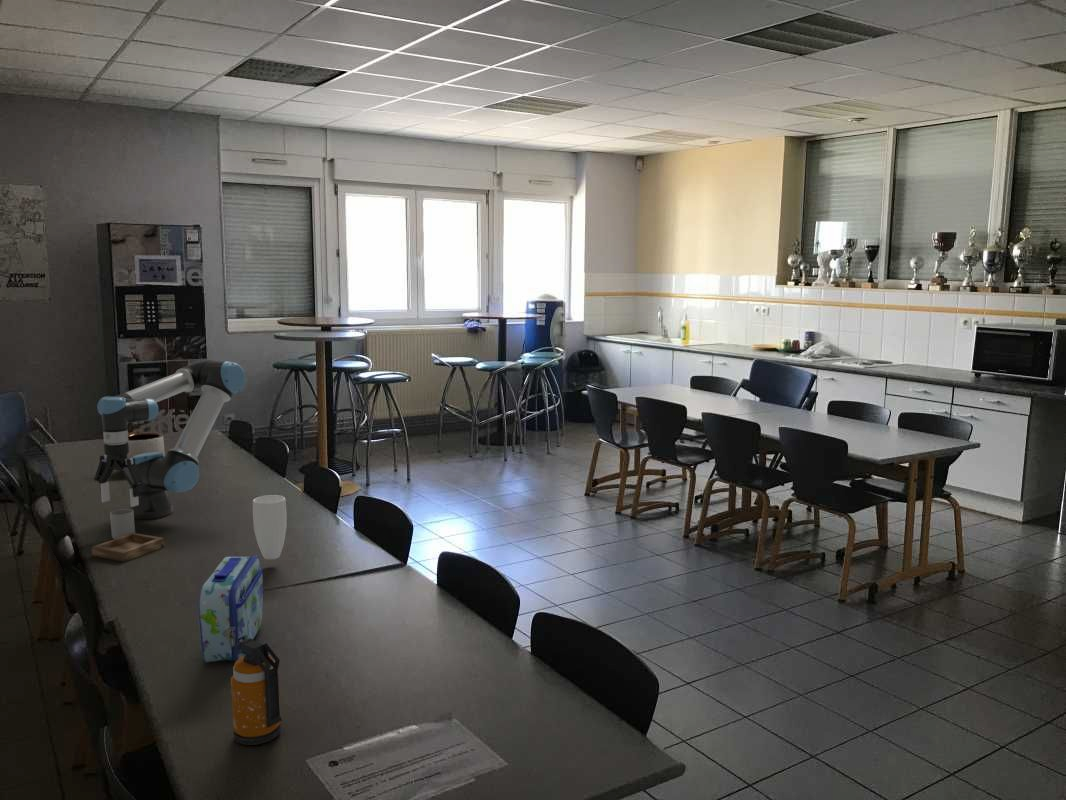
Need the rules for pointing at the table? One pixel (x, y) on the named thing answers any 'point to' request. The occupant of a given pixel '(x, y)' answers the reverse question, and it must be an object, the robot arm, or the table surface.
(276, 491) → the table surface
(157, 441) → the planter
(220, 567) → the lunch box
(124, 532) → the cup
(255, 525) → the cup
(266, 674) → the canister
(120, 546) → the tray
